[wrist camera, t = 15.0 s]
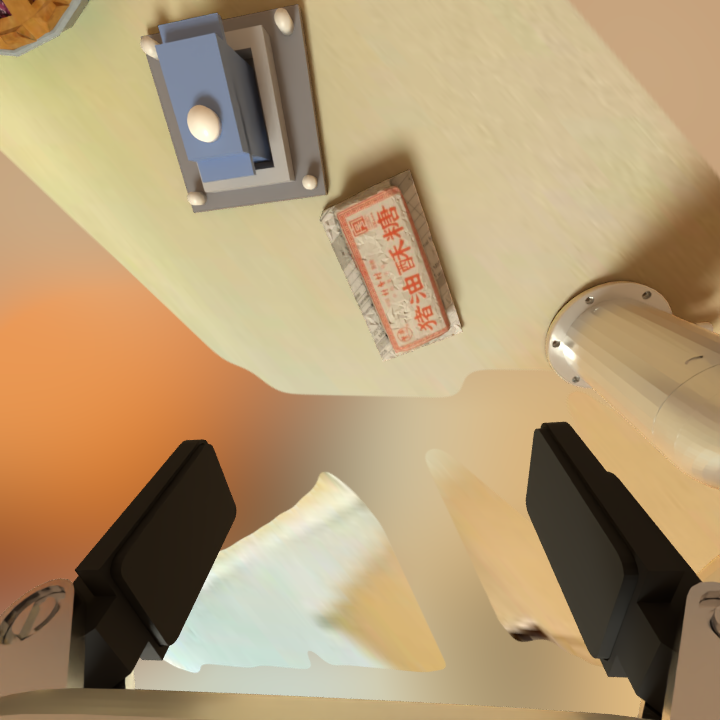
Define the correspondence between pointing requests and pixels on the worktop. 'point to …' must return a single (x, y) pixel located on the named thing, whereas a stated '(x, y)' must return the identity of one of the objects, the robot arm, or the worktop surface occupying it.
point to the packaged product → (392, 266)
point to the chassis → (279, 108)
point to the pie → (34, 22)
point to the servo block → (213, 99)
